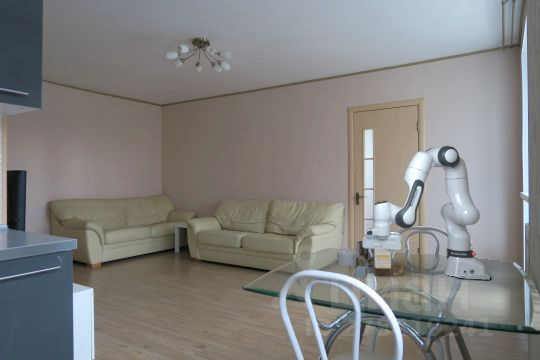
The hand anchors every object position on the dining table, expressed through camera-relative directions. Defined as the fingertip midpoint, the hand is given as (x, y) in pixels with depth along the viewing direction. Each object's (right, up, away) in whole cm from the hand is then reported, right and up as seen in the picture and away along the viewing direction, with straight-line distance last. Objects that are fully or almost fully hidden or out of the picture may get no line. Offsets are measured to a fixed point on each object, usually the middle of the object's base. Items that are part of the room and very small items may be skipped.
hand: (382, 257), depth 201 cm
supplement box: (0, -6, +1) cm, 6 cm away
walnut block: (+10, -11, +5) cm, 16 cm away
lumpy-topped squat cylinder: (-12, -10, +29) cm, 33 cm away
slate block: (-10, -11, +2) cm, 15 cm away
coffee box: (-5, -11, +15) cm, 19 cm away
